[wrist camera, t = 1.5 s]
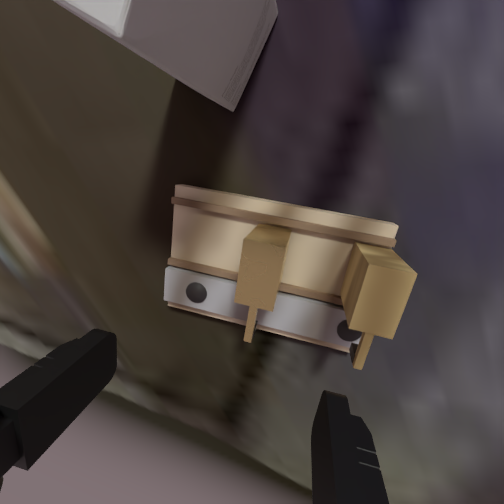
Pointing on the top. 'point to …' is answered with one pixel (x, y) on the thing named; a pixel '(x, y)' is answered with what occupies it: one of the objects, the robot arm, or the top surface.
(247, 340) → the slider leg
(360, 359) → the gauge board
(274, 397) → the top surface
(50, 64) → the top surface
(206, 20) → the skincare box
